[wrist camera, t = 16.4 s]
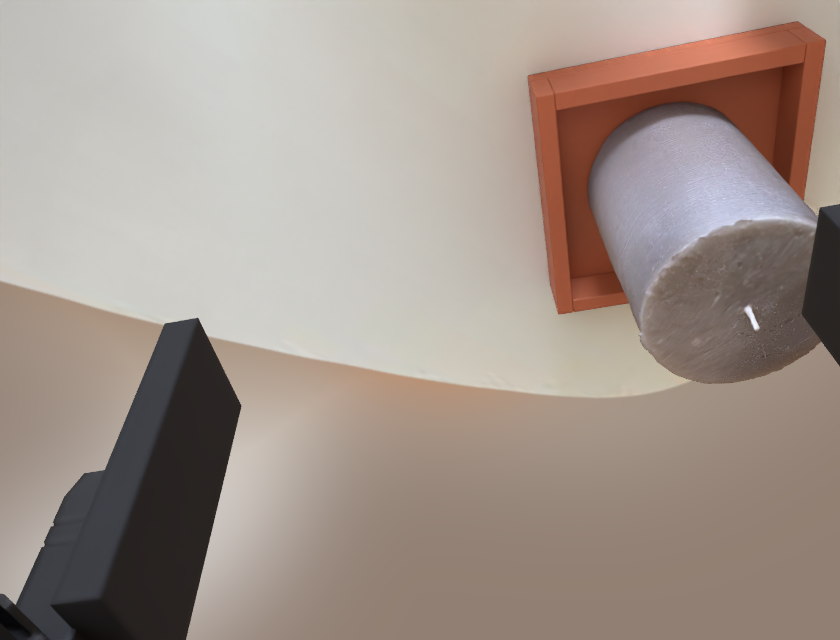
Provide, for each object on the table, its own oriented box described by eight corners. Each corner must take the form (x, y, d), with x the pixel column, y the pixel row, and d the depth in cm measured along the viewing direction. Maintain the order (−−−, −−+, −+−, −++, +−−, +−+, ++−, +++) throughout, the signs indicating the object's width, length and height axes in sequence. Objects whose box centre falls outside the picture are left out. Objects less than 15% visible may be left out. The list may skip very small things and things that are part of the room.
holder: (550, 285, 50) (558, 315, 47) (527, 75, 41) (536, 96, 38) (771, 248, 48) (793, 276, 46) (797, 20, 39) (827, 39, 37)
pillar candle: (764, 197, 45) (891, 350, 33) (619, 267, 48) (688, 430, 36) (714, 66, 40) (844, 190, 28) (556, 154, 43) (613, 299, 31)
